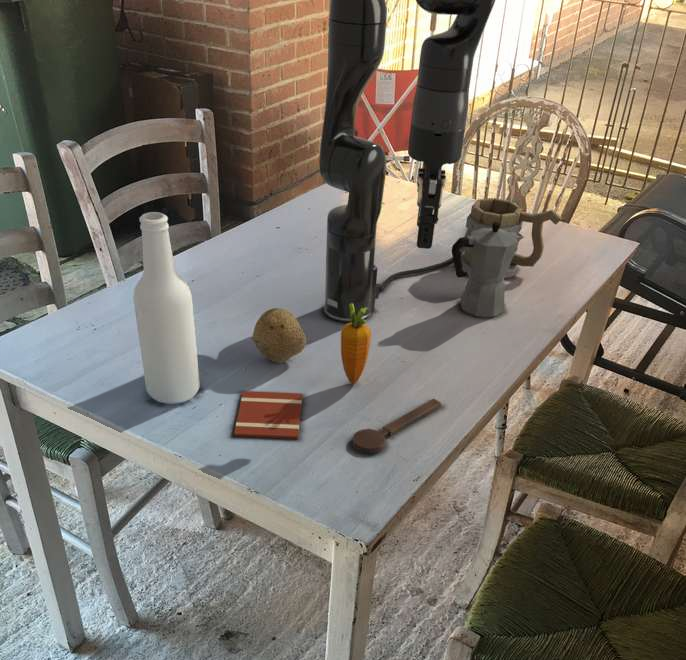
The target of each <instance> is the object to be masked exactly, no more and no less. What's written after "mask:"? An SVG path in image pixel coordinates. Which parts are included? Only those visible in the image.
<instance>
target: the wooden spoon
mask: <svg viewBox="0 0 686 660" xmlns="http://www.w3.org/2000/svg"><path fill="white" fill-rule="evenodd" d="M441 406H442V402H441V401H439V400H437V399H435V398H432V399H430V400H428V401H427V402H425V403H423V404H421V405H420V406H418V407H417V408H414V409H412V410H410V411H409V412H407V413H406V414H404V415H402V416H400V417H398V418H396V419H395V420H393V421H392V422H389V423H387V424H386V425H384V426H383V427H382V429H381V430H376V429H371V428H364V429H360V430H358V431H356V432H355V433H354V434H353V437H352V446H353V448H354V449H355V450H356V451H357V452H359V453H362V454H366V455H375V454H378V453H380V452H382V451H383V450H384V448H385V446H386V437H392V436H393V435H395V434H397V433H398V432H400V431H402V430H403V429H406V428H407V427H409V426H411V425H412V424H414V423H415V422H417V421H419V420H421V419H423V418H424V417H426V416H427V415H429V414H431V413H433V412H434V411H436V410H438V409H440V408H441Z"/></svg>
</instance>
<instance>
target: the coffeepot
mask: <svg viewBox="0 0 686 660" xmlns="http://www.w3.org/2000/svg"><path fill="white" fill-rule="evenodd" d="M500 225H501V224H500V223H499V222H492V229H491V228H481V229H478V230H476V231H473V232H471V236H467V235H466V236H467V237H466V236H462V237H459V238H458V239H457V240H456V241H455V242H454V243H453V245H452V246H451V254H452V257H453V260H454V261H453V265H454V270H455V271H454V272H455V275H456V277H457V278H466V277H467V276H468V278H467V280H466V284H465V285H464V290H463V293H462V295H461V298H460V307H461V310H462V311H464V312H465V313H466V314H468V315H471V316H474V317H478V318H493V317H498V316H499V315H501V314H502V313H503V312H505V278H504V276H505V274H506V273H507V272H508V269H509V266H510V263H511V261H512V258H513V255H514V252H515V249H516V247H517V244H518V245H519V243H520V241H521V240H523V239H524V238H525V236H523V235H522V234H521V233H519V234H517V233H513V232H507V231H504V230H502V229H499V227H500ZM463 247H471V269H472V270H471V274H470V275H467V272H464V271H463V270H462V262H461V252H460V251H461V249H462V248H463Z"/></svg>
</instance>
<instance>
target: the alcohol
mask: <svg viewBox="0 0 686 660" xmlns="http://www.w3.org/2000/svg"><path fill="white" fill-rule="evenodd" d="M138 220H139V222H140V225H139V229H140V230H141V239H142V240H141V242H142V243H141V244H142V245H141V246H142V262H143V265H142V266H143V272H142V276H141V277H140V278H139V280H138V281H137V283H136V285H135V286H134V290H133V297H132V298H133V299H132V300H133V306H134V315H135V321H136V327H137V333H138V339H139V340H138V341H139V349H140V355H141V362H142V363H141V364H142V369H143V377H144V384H145V391H146V392H147V394H148V396H150V398H152V399H153V400H154V401H156V402H157V403H158V402H159V403H162V404H167V405H175V404H181V403H186V402H187V401H189V400H191V399H193V398H194V397H195V395H196V394H197V392H199V389H200V386H201V385H200V373H199V363H198V362H199V361H198V360H199V359H198V351H197V339H196V338H197V337H196V329H195V318H194V317H195V316H194V306H193V295H192V292H191V290H190V287H189V284H188V283H187V281H185V279H184V278H183V277H182V276H181V275H180V274H178V271H177V270H176V269H177V268H176V265H175V261H174V254H173V248H172V243H171V240H170V239H171V238H170V234H169V228H170V227H169V226H170V225H169V223H168V220H169V217H168V216H167V215H166V214H164V213H162V212H159V211H149V212H145V213H143V214H142V215H141V216H139V219H138Z"/></svg>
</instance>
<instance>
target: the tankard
mask: <svg viewBox="0 0 686 660" xmlns="http://www.w3.org/2000/svg"><path fill="white" fill-rule="evenodd" d="M561 220H562V216H561V215H560V214H559V213H558V212H556V211H555V210H554V209H550V210H547V211H541V212H538V213H529V212H524V211H523V208H522V206H520V205H518V204H517V203H515V202H514V201H513V200H512V201H511V200H510V199H509V200H508V199H504V198H498V197H487V198H480V199H479V198H478V199H476V200H475V202H474V203H473V204H472V205H471V209H470V213H469V214H468V216H467V217H466V223H465V227H466V229H468V230H467V234H466V235H465V237H467V236H471V232H473V231H476V230H478V229H481V228H491V229H492V222H499V223H500V224H501V225H500V227H499V229H502V230H504V231H507V232H513V233H517V234H520V232H521V230H522V228H523V227H522V226H523V223H532V226H531V233H530V235H531V240H532V246H533V249H532V252H531V254H530V255H528V256H525V255H521V254H518V253H517V251H518V247H519V243H518V244H517V247H516V249H515V252H514V255H513V258H512V261H511V263H510V266H509V269H508V272H507V273H506V274H505V276H504V279H510V278H512V277H513V276H514V274H515V272H516V271H517V269H518V266H520V267H534V266H535V265H536V264H537V263H538V262H539V260H540V259H541V258H542V257H543V253H544V249H545V244H544V238H543V237H544V236H543V229H544V227H543V226H544V223H545V222H548V221H550V222H552V224H554V225H558V224H559V223H560V222H561ZM462 248H463V249H464V250H465V251H464V252H463V253H462V254H461V262H462V272H467V276H469V275H470V274H471V270H472V269H471V247H462Z"/></svg>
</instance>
